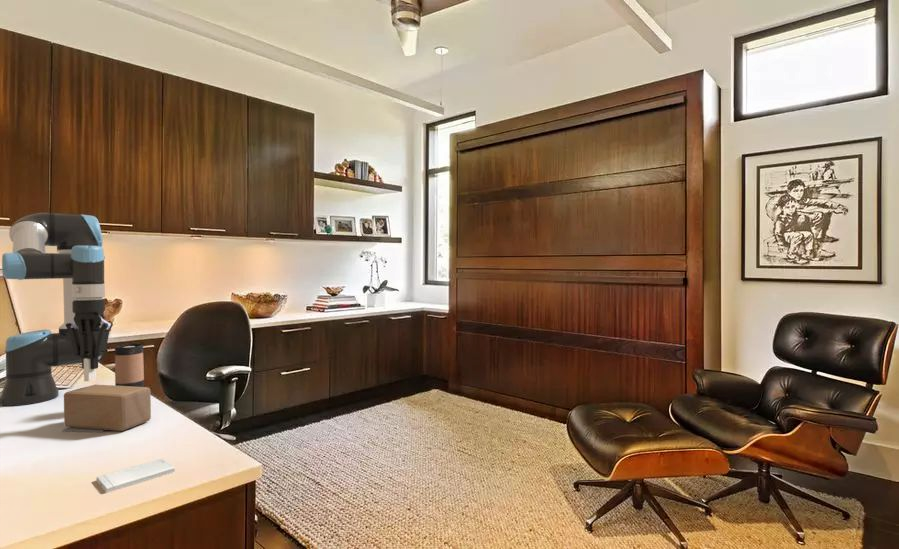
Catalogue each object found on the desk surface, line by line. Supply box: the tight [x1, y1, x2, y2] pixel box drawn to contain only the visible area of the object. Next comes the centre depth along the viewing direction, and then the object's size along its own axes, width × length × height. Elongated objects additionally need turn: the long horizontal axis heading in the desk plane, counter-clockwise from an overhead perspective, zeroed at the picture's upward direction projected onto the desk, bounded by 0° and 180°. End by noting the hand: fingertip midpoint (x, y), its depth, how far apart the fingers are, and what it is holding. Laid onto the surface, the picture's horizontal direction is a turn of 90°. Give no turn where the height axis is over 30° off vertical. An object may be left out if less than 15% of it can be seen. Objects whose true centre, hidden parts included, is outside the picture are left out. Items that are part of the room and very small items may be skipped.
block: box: [63, 384, 152, 432], centre depth 134 cm, size 10×10×20 cm
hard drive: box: [95, 458, 176, 494], centre depth 101 cm, size 2×8×12 cm
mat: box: [61, 427, 106, 433], centre depth 136 cm, size 12×15×1 cm
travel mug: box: [114, 343, 145, 387], centre depth 151 cm, size 8×8×20 cm
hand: (90, 380), depth 136 cm, fingers closed
